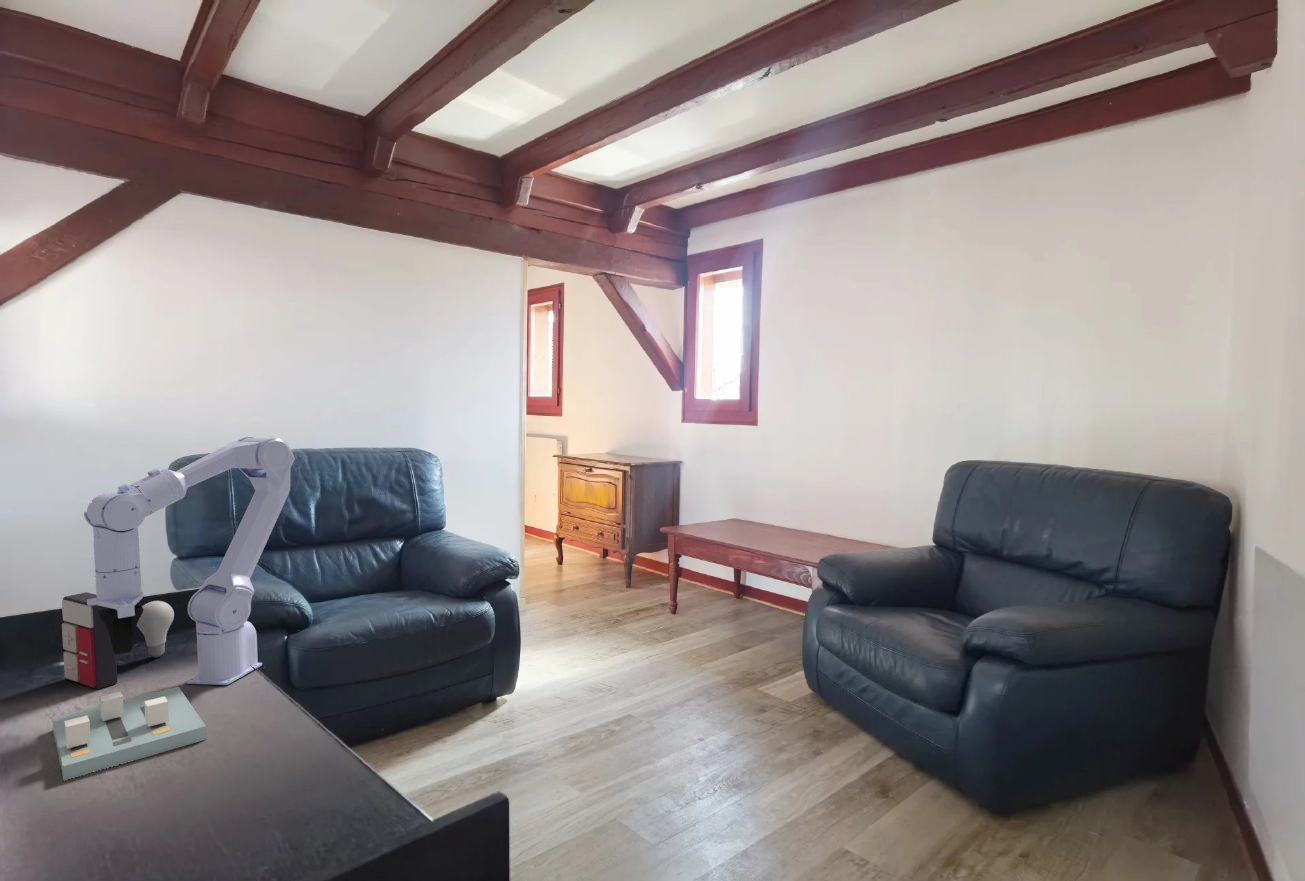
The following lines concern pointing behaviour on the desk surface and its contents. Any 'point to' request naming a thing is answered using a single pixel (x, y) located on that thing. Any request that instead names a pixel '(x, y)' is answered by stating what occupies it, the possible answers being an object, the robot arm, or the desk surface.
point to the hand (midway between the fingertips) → (122, 652)
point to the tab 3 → (156, 711)
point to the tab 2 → (111, 706)
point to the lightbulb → (155, 625)
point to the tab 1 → (77, 731)
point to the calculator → (86, 643)
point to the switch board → (128, 734)
